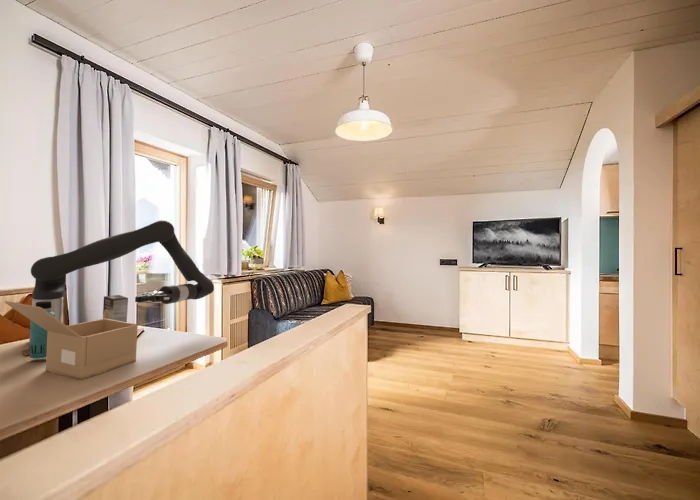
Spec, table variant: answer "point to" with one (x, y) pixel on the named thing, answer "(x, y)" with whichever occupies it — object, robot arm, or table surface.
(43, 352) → the beverage bottle
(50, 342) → the carton
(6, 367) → the table surface
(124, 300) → the coffee box
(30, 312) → the carton flap
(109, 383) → the table surface
